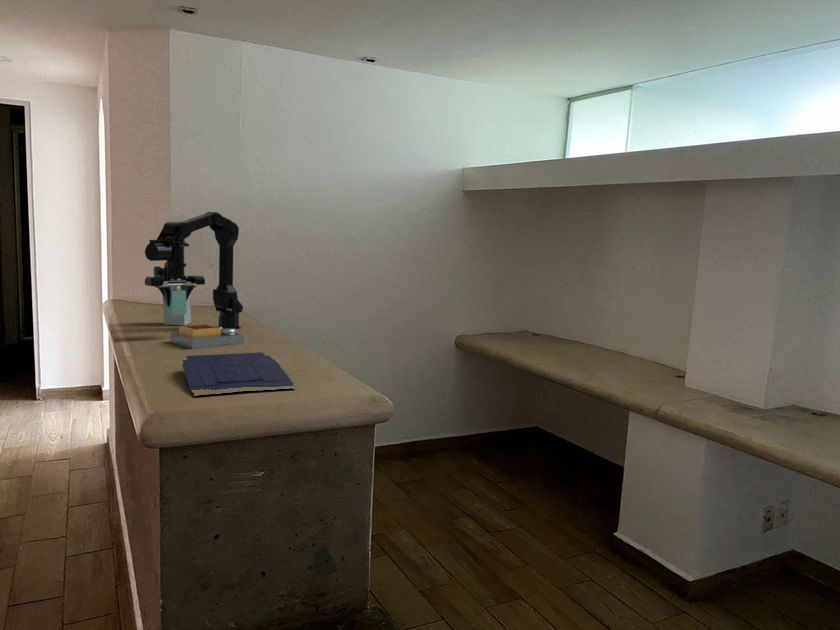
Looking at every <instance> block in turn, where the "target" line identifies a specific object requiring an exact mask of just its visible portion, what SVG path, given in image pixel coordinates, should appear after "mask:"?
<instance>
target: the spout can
mask: <svg viewBox="0 0 840 630" xmlns="http://www.w3.org/2000/svg"><path fill="white" fill-rule="evenodd" d="M165 313H166V314H170V315H180V314H186V290H181V289H180V286H175V289H174V290H170V306H169V307H167V305H166V303H165Z"/></svg>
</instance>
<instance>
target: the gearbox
mask: <svg viewBox="0 0 840 630" xmlns="http://www.w3.org/2000/svg"><path fill="white" fill-rule="evenodd" d="M178 327H179V328H178V332H176V331H175V332H170V343H173V344H175V345H179V346H182V347H185V348H188V349H189V350H190V349H191V350H195V349H206V348H213V347H214V348H215V347H222V346H231V345H241V344H244V334H243V333H241V332H236V331H237V330H236V329H237V328H235V329H234V328H222V327H220V326H219V325H217V326H216V325H212V324H209V323H202V324H201V323H200V324H187V325H178Z"/></svg>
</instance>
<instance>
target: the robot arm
mask: <svg viewBox="0 0 840 630" xmlns="http://www.w3.org/2000/svg"><path fill="white" fill-rule="evenodd" d="M207 227H209V229H210V230H211V231H213V232H214V237H215V241H216V242H217V244H218V245H219V249H218V251H219V254H218V257H219V259H218V261H219V262H218V264H219V265H218V268H219V269H218V285H217V286H216V288H214V289H213V290H212V301H213V304H214V307H215V310H216V312H219V316H218V326H220V327H222V328H234V329H241V328H242V327H241V325H240V323H239V322H240V316H239V315H240V313H243V309H244V306H243V304H242V303H241V302H240V301H239V299H238V293H237V289H236V288H235V286H234V284H233V283H234V246H235V244H236V243H237V241H238V239H239V233H240V230H239V229H240V228H239V226H238V225H237V223H236V222H234V221H232V220H231V219H228V218H226V217H225V216H223V215H221V213H219V212H216V211H207V212H205V213H203V214H200V215H197V216H195V217H192V218H189V219H186V220H182V221H169V222H164V224H163V227H162V229H161V231H160V233H159V235H158V236H157V238H156V239H149V243H148V244H147V245H146V247H145V250H144V255H145V257H146V259H147V260H149V261H151V262H154V261H155V262H157V261H158V262H159V261H162V262H163V261H165V262H164V263H163V265H164V266H163V267H161V266H154V267H153V275H154V276H146V277H145V278H144V285H145V286H148V287H154V288H157V289H158V290H159V291H160V293H161V295H162V298H163V297H164V300H165V303H166V305H167V307H169V306H170V287H168V284H173V283H183V285H181V288H182V290H186V301H187V299H188V297H189V295H191V293H192V291H193V290H194V289H195V288H197V286H199V285H206V278H205V277H204V276H203V275H196V274H195V275H185V268H186V267H187V263H186V262H185V248H186V247H187V248H188V247H190V243H188V242H187V241H186V239H187V238H188V237H190V236H191V235H192V233H193V232H195V231H198V230H201V229H205V228H207Z"/></svg>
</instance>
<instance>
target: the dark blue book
mask: <svg viewBox="0 0 840 630" xmlns="http://www.w3.org/2000/svg"><path fill="white" fill-rule="evenodd" d="M185 357H186V359H182V364H181V365H182V369H183V372H184V375H185V378H186V380H187V384H188V387H189V390H190V391H191V390H200V389H204V390H206V389H208V390H209V389H211V390H213V389H214V390H216V389H217V390H219V389H228V388H241V387H278V386H279V387H280V386H281V387H282V386H293V385H294V383H293V382H292V379H291V378H290V377H289V376H288V374H287V373H286V371H284V369H283V368H282V366H281V365H280V363H279V362H277V361H276V360H275V359H274V358H272V357H271V356H270V355H265V354H264V353H263V351H262V352H261V351H259V352H240V353H224V354H223V353H222V354H220V353H219V354H201V355H200V354H199V355H185ZM294 386H295V385H294Z"/></svg>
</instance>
